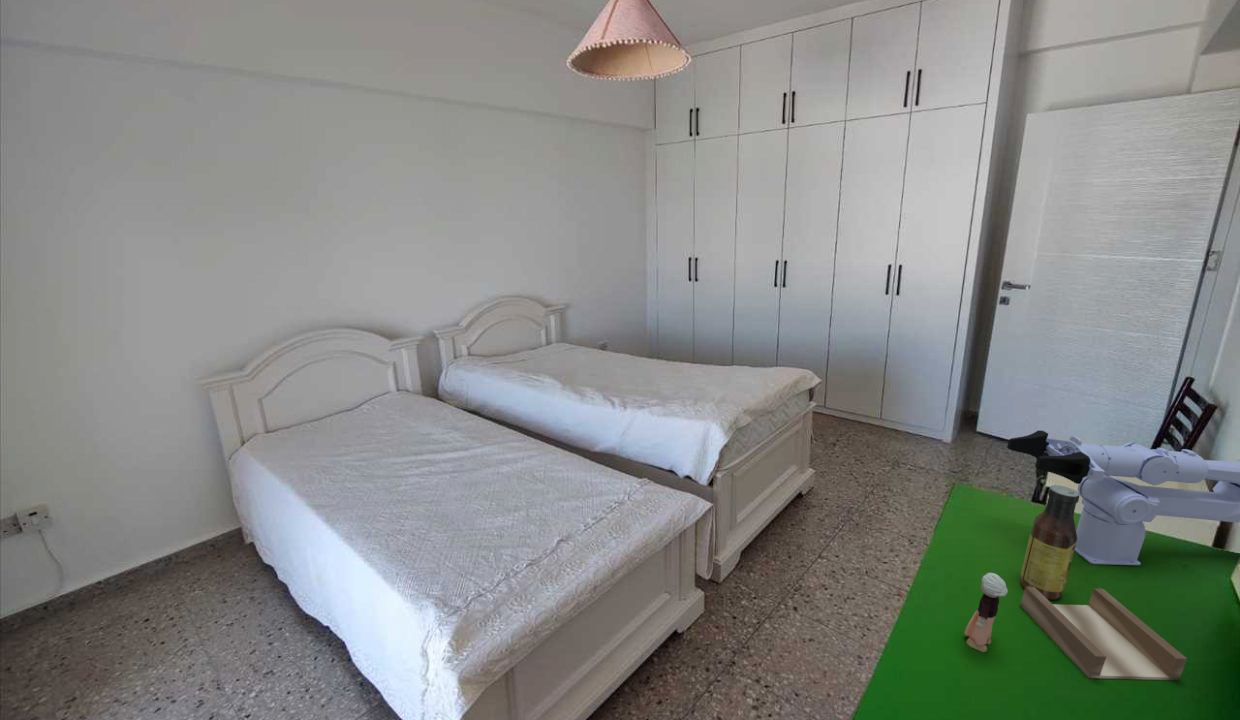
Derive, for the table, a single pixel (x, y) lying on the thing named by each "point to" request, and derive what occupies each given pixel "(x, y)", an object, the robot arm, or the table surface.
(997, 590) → the grandmother figurine
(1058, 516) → the sauce bottle
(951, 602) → the table surface
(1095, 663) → the u rest
